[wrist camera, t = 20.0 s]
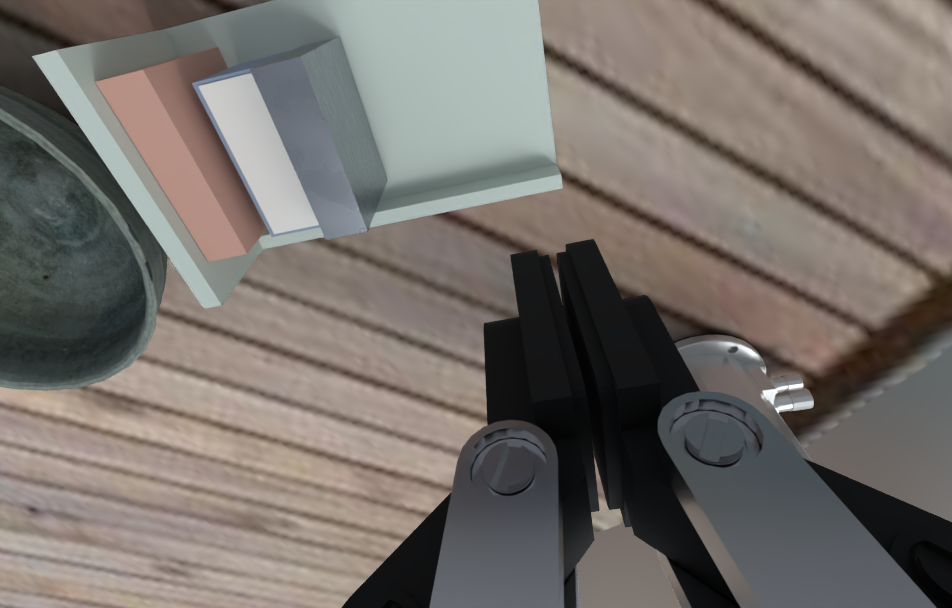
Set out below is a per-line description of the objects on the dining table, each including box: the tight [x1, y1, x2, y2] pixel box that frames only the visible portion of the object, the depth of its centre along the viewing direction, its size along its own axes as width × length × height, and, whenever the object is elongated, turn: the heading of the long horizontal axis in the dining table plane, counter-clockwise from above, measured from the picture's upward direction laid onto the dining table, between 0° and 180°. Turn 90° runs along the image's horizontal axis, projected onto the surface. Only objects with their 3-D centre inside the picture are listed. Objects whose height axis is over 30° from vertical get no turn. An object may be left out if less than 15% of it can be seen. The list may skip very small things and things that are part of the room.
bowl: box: [0, 86, 167, 391], centre depth 30 cm, size 21×21×10 cm
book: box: [192, 51, 320, 237], centre depth 29 cm, size 4×9×6 cm, turn 12°
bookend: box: [250, 37, 388, 240], centre depth 27 cm, size 2×9×8 cm, turn 12°
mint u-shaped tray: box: [32, 0, 563, 309], centre depth 27 cm, size 23×14×10 cm, turn 102°
